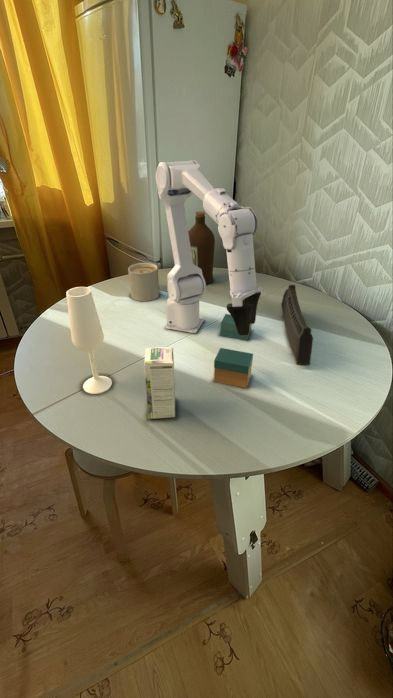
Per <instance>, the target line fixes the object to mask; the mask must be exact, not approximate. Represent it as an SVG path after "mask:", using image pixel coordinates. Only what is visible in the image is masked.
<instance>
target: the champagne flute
mask: <svg viewBox="0 0 393 698" xmlns="http://www.w3.org/2000/svg"><path fill="white" fill-rule="evenodd" d="M65 293H66V294H65V295H66V303H67V312H68V320H69V328H70V329H69V330H70V335H71V336H70V337H71V343H72V344H73V346H74V347H76V349H79V350H81V351H82V352H85V353H88V357H89V362H90V368H91V373H92V377H90V378H88V379H87V380H86V381H84V383H83V385H82V389H83V390H84V391H85V392H86V393H88V394H91V395H94V394H95V395H97V394H102V393H105V392H106V391H109V389H110V388H111V386H112V385H113V380H112V379H111V377H108V376H105V375H99V371H98V365H97V362H96V357H95V356H96V355H95V351H96V350H97V349H98V348H99V347H100V346H101V345H102V343H103V342H104V338H105V334H104V331H103V328H102V325H101V321H100V317H99V314H98V310H97V306H96V303H95V300H94V297H93V293H92V291H91V288H89V287H87V286H76V287H72V288H70V289H68V290H66V292H65Z"/></svg>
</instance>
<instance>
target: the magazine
mask: <svg viewBox="0 0 393 698" xmlns="http://www.w3.org/2000/svg"><path fill="white" fill-rule="evenodd" d="M281 312H282V317H283V323H284V329H285V332H286V337H287V340H288V343H289V344H288V345H289V346H290V349H291V352H292V355H293V357H294V360H295V362H296V365H297V366H298V365H299V366H304V367H306V366H310V365H311V359H312V352H313V351H312V350H313V344H314V343H313V342H314V337H313V334H312V328H311V327H309V325H308V323H307V322H306V319H305V317H304V315H303V312H302V310H301V306H300V302H299V300H298V295H297V290H296V284H289V285H288V286H287V289H286V290H285V291H284V293H283V296H282V301H281Z"/></svg>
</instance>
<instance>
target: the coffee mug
mask: <svg viewBox="0 0 393 698" xmlns="http://www.w3.org/2000/svg"><path fill="white" fill-rule="evenodd" d="M127 273H128V281H129V289H130V297H131V299H133V300H134V301H137V302H151V301H154V300H156V299H157V298H159V296H160V282H159V281H160V280H159V269H158V265H157V264H154V263H152V262H151V263H150V262H138V263H134V264H131V265H129V266H128V267H127Z"/></svg>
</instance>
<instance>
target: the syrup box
mask: <svg viewBox="0 0 393 698" xmlns="http://www.w3.org/2000/svg"><path fill="white" fill-rule="evenodd" d="M144 353H145V354H144V363H143V368H144V379H145V391H146V394H145V395H146V404H147V417H148V419H149V420H154V419H155V420H156V419H168V418H169V419H170V418H175V417H176V388H175V385H176V384H175V380H176V379H175V357H174V355H175V354H174V347H165V346H162V347H161V346H159V347H156V346H155V347H147V348H145V352H144Z"/></svg>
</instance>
